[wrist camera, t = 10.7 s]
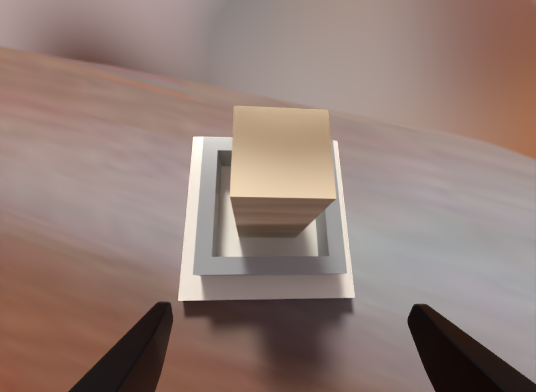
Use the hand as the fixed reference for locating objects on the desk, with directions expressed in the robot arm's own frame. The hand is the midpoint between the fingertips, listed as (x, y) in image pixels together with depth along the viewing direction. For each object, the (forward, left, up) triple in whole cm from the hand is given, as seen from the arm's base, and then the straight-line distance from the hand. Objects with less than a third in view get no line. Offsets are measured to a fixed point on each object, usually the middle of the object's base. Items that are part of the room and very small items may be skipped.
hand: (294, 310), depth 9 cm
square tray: (+6, +1, -9) cm, 11 cm away
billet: (+6, +1, -8) cm, 10 cm away
